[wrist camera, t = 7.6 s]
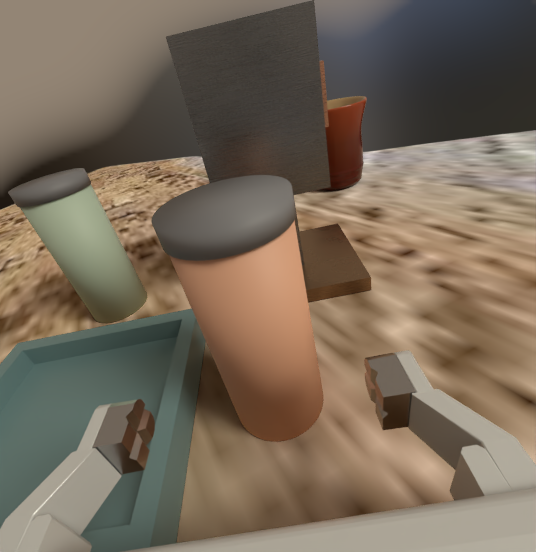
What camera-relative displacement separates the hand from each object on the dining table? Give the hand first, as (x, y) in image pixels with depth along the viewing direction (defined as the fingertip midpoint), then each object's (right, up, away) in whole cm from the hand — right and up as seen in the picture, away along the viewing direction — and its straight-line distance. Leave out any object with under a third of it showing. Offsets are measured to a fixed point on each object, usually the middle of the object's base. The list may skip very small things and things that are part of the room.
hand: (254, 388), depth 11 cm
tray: (-11, -5, +7) cm, 14 cm away
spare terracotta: (+1, -3, +7) cm, 7 cm away
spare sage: (-13, +1, +18) cm, 23 cm away
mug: (+11, +18, +35) cm, 41 cm away
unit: (+2, +5, +17) cm, 18 cm away
